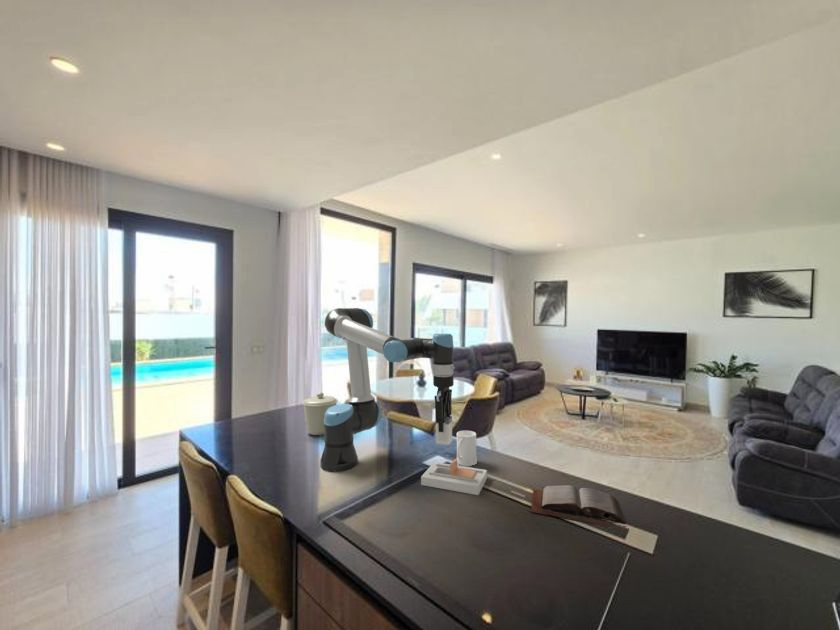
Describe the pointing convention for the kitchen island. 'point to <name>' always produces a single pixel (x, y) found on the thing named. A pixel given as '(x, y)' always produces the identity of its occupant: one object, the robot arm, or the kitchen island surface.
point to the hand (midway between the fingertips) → (443, 438)
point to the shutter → (460, 471)
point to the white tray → (453, 479)
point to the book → (577, 504)
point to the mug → (466, 448)
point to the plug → (448, 431)
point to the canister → (317, 412)
